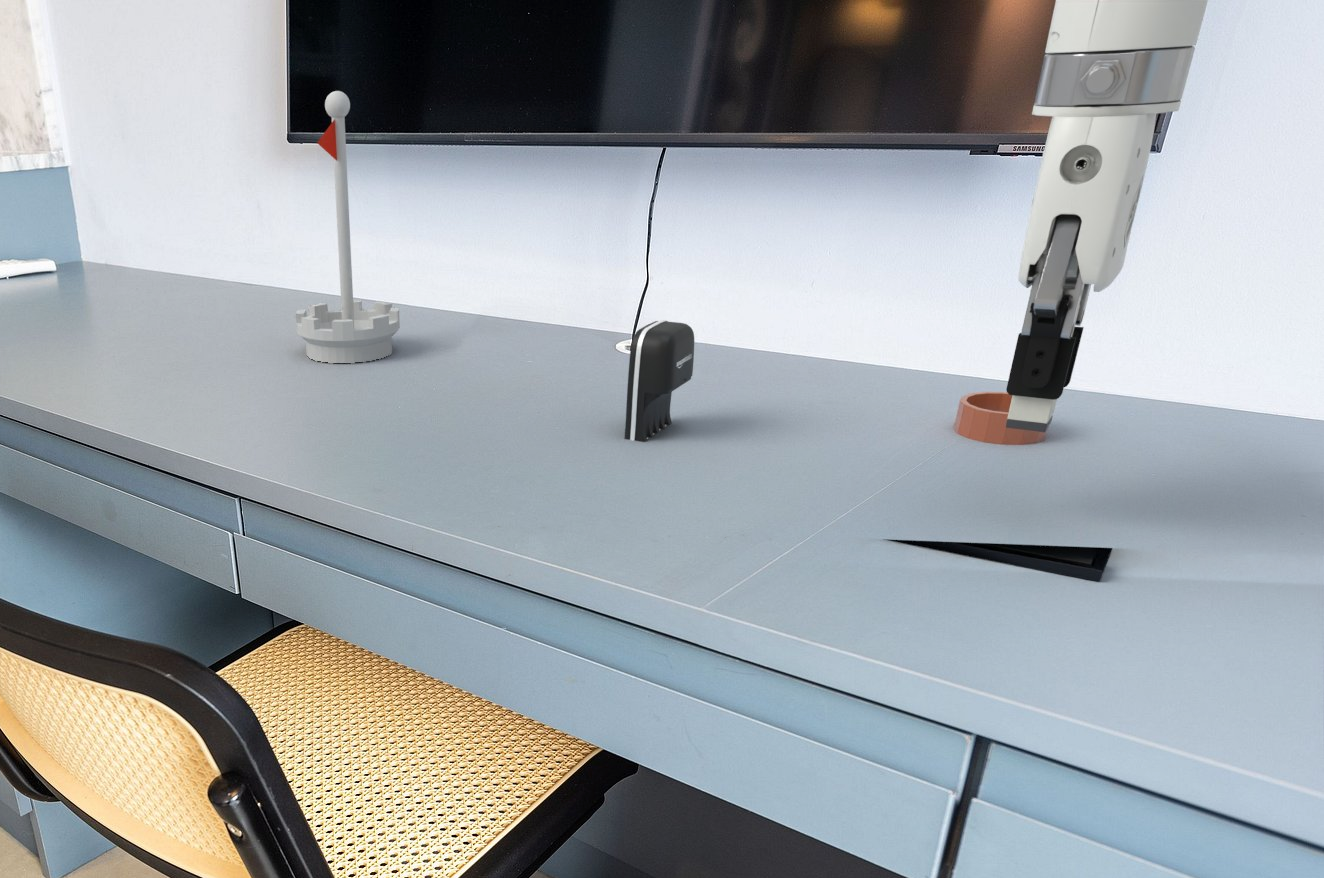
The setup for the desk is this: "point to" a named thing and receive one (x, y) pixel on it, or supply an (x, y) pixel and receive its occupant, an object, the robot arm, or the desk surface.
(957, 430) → the bangle ring
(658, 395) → the battery charger
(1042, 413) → the grey piece
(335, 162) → the flag stand
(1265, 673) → the desk surface
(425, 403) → the desk surface
